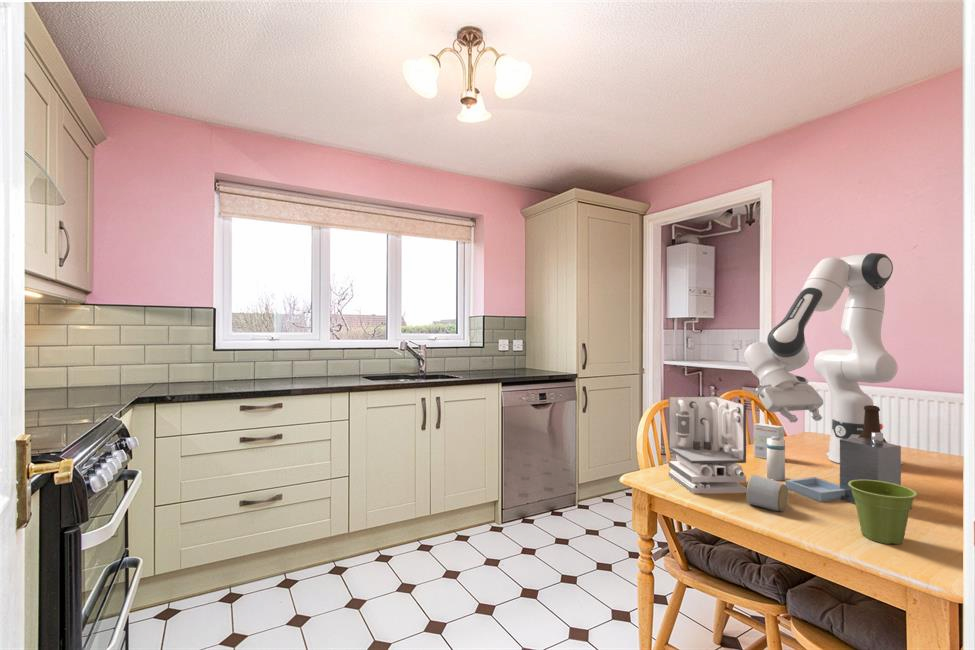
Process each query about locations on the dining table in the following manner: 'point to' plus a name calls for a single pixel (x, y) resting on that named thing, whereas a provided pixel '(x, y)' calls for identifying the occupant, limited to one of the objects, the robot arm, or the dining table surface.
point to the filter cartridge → (775, 458)
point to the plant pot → (882, 509)
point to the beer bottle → (871, 421)
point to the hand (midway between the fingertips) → (807, 420)
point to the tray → (816, 489)
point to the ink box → (765, 437)
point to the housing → (868, 462)
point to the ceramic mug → (767, 493)
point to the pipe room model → (707, 444)
